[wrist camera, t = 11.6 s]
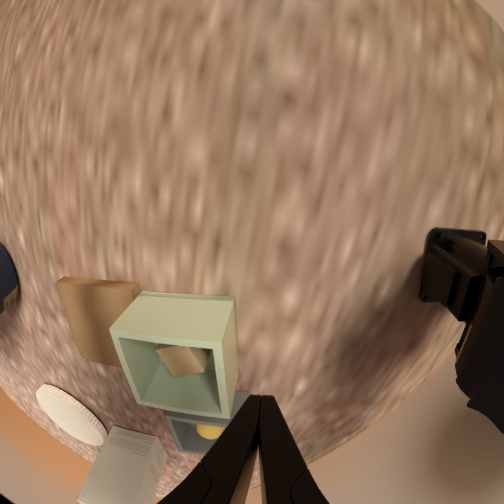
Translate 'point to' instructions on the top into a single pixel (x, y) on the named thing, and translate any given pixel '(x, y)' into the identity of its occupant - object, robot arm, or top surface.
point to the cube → (183, 358)
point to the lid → (95, 313)
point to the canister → (7, 281)
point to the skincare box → (125, 469)
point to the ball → (209, 431)
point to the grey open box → (186, 430)
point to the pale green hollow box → (182, 334)
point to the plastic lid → (71, 415)
